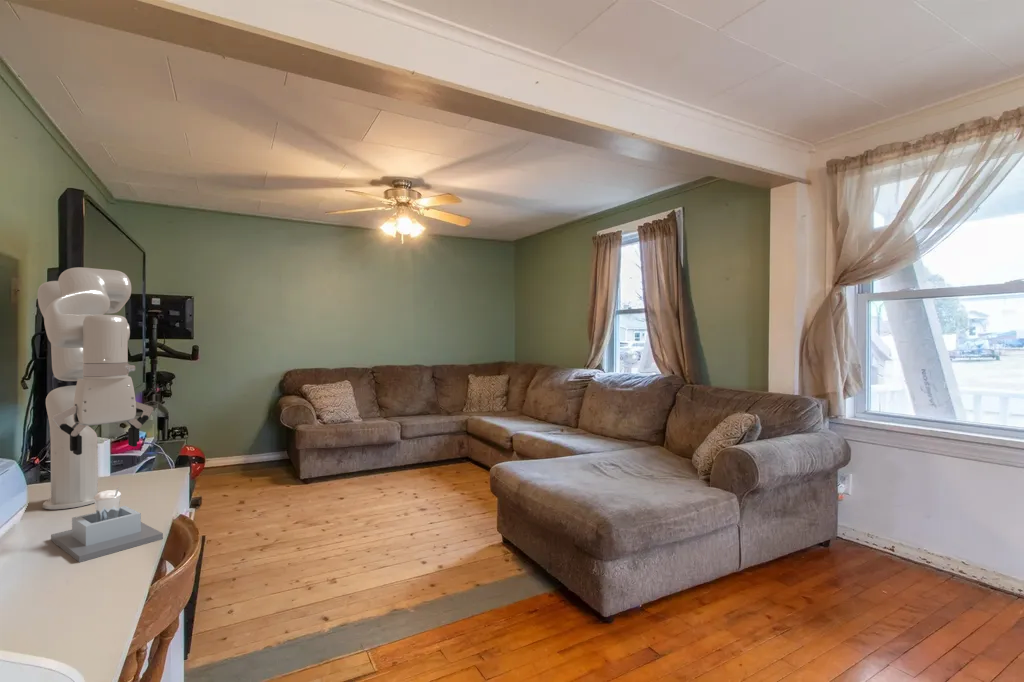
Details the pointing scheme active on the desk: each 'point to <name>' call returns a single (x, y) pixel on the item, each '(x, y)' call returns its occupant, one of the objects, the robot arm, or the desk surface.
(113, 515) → the milkshake
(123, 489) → the desk surface
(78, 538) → the housing
